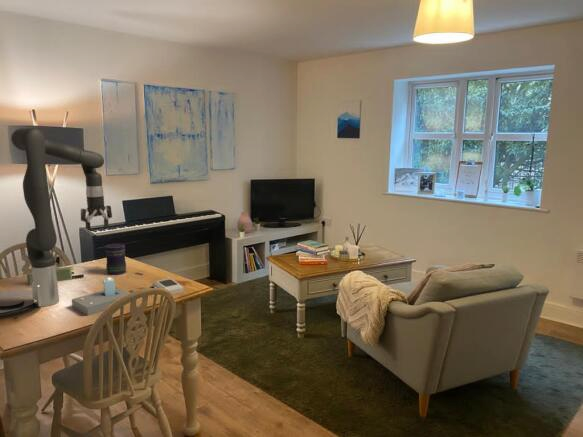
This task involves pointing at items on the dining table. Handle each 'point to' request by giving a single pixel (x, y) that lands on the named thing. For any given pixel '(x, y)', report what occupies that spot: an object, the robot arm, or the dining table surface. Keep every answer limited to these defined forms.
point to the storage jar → (115, 259)
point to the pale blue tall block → (109, 287)
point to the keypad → (168, 285)
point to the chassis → (96, 301)
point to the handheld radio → (61, 275)
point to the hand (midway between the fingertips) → (97, 228)
